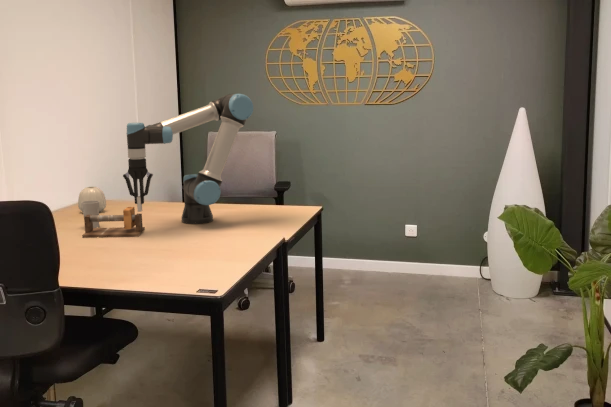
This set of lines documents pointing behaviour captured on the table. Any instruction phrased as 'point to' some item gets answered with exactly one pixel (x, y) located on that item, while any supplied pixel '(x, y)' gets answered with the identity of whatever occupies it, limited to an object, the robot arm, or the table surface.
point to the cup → (91, 209)
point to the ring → (128, 217)
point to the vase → (92, 197)
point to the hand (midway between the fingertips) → (139, 211)
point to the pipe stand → (111, 232)
